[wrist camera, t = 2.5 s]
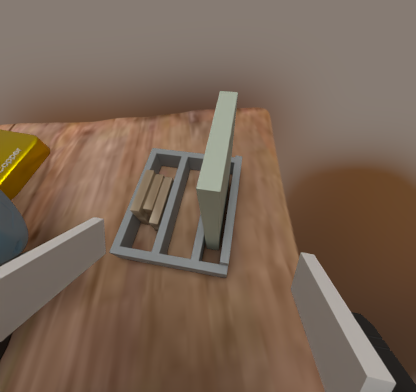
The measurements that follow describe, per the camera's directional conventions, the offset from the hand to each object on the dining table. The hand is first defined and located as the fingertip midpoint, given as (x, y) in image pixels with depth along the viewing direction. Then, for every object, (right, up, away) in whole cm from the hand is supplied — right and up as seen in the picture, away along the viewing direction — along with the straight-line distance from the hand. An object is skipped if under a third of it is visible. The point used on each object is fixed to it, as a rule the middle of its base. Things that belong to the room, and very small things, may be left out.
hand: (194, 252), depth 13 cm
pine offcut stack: (-8, +2, +25) cm, 26 cm away
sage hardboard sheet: (+3, 0, +24) cm, 24 cm away
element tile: (-45, +10, +32) cm, 55 cm away
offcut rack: (-3, +1, +24) cm, 25 cm away
